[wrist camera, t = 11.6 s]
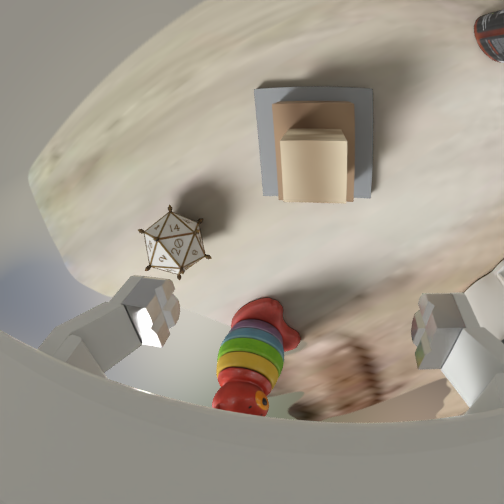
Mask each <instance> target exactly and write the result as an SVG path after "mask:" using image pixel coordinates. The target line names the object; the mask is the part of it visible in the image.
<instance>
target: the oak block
mask: <svg viewBox="0 0 504 504" xmlns="http://www.w3.org/2000/svg"><path fill="white" fill-rule="evenodd" d="M280 149H281V165H282V182H283V200H284V202H313V203H346V190H347V140H346V138H345V136H344V134H343V132H342V130H341V129H288V130H287V132H286V133H285V135H284V136H283V137H282V139H281V140H280Z"/></svg>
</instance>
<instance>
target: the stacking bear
mask: <svg viewBox="0 0 504 504" xmlns="http://www.w3.org/2000/svg"><path fill="white" fill-rule="evenodd" d="M300 340H301V338H300V336H299V333H298V332H297V331H296V330H294V329H292V328H290V327H289V326H288V325H287V324H286V323H285V322H284V320H283V307H282V306H281V305H280V304H279V302H278V301H276V300H273V299H271V298H262V299H258V300H255V301H253V302H250V303H248V304H246V305H245V306H243V307H242V308H241V309H240V310H238V311H237V313H236V314H235V315H234V317H233V319H232V324H231V330H230V331H229V333H228V335H227V336H226V337H225V339H224V341H223V343H222V344H221V347H220V350H219V354H218V359H217V362H218V363H217V378H218V382H219V384H220V386H221V388H220V389H219V390H218V391H217V393H216V394H215V396H214V399H213V402H212V408H216V409H221V410H226V411H232V412H238V413H244V414H250V415H257V416H266V414H267V412H268V408H269V403H268V399H267V397H266V396H267V395H268V394H269V393H270V392H271V390H272V389H273V388H274V386H275V384H276V382H277V380H278V378H279V376H280V374H281V371H282V368H283V362H284V352H285V351H289V350H292V349H294V348H296V347H297V346H298V344H299V343H300Z"/></svg>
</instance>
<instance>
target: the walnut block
mask: <svg viewBox="0 0 504 504" xmlns="http://www.w3.org/2000/svg"><path fill="white" fill-rule="evenodd" d="M272 112H273V124H274V137H275V151H276V165H277V181H278V197H279V200H283V182H282V165H281V149H280V140H281V139H282V137H283V136H284V135H285V133H286V132H287V130H288V129H341V130H342V132H343V134H344V136H345V138H346V140H347V190H346V201H348V202H353V199H354V172H355V111H354V104H353V103H351V102H349V101H280V102H277V103H274V104H272Z"/></svg>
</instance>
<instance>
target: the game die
mask: <svg viewBox="0 0 504 504" xmlns="http://www.w3.org/2000/svg"><path fill="white" fill-rule="evenodd" d="M168 210H169V212H168V213H167V214H166V215H165V216H163V217H162V218H161V219H159V220H158V221H157V222H156V223H154V224H153V225H152V226H151V227H149V228H148V229H147V230H146V231H144V230H142V229H139V230H138V231H139V232H140V233H141V234H142V233H144V237H145V243H146V249H147V254H148V260H149V266H147V267H146V269H145V271H149V269H150V268H151V267H153V268H156V269H160V270H163V271H167V272H170V273H174V274H177V278H178V279H179V280H180V279H181V275H180V274H181V273H182V274H184V272H185V270H187V269H188V268H189V267H191V266H192V265H194V264H195V263H197V262H198V261H199V260H201V259H202V258H204V257H206V259H211V256H210V255H206V254H205V250H204V246H203V241H202V237H201V232H200V227H199V224H201V222H202V220H203V219H199V220H198V222H195V221H193V220H190V219H188V218H186V217H183V216H181V215H179V214H176V213H174V212H172V207H171V205H170V204H169V207H168Z"/></svg>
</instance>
